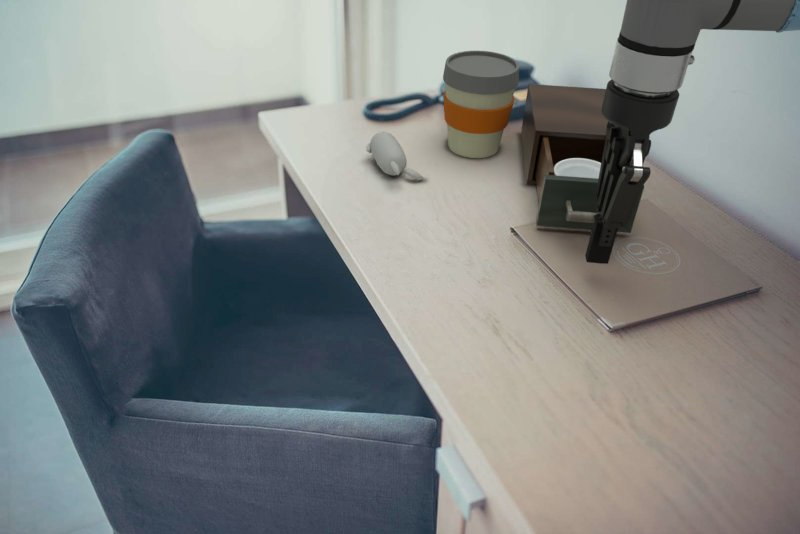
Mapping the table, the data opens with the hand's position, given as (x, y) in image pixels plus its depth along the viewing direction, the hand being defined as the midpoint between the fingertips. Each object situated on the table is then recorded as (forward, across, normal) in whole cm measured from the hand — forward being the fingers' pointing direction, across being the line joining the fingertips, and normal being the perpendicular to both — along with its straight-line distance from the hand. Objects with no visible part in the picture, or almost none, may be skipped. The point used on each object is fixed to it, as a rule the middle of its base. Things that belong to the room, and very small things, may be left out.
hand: (596, 259), depth 83 cm
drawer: (+2, +17, 0) cm, 17 cm away
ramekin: (+1, +17, 0) cm, 17 cm away
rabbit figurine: (+3, +25, +29) cm, 38 cm away
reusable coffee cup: (+3, +36, +16) cm, 39 cm away
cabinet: (+3, +33, 0) cm, 33 cm away
